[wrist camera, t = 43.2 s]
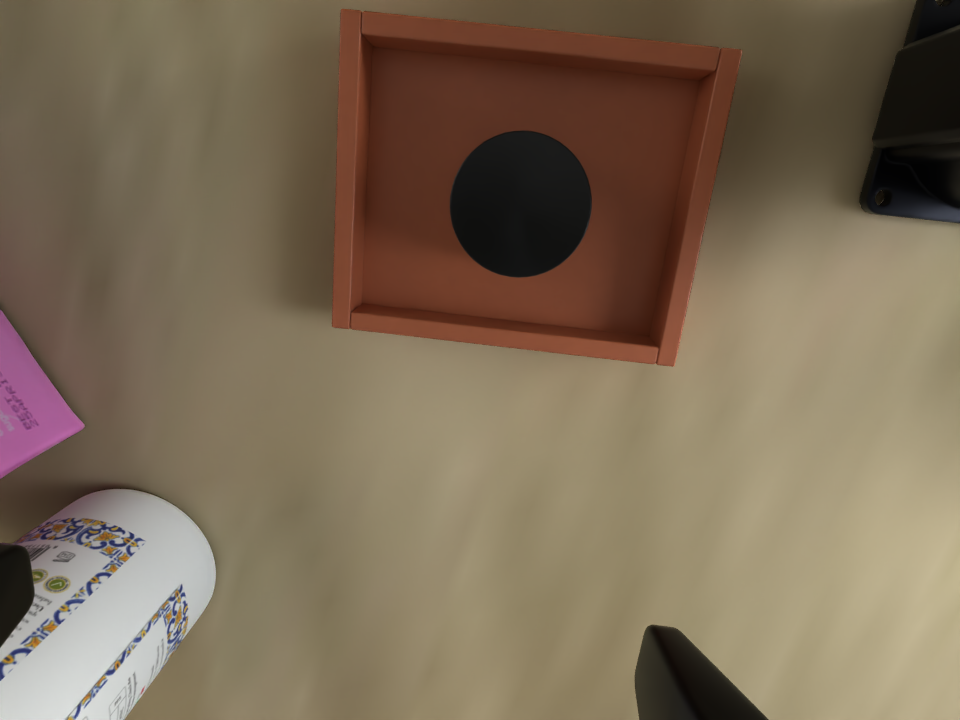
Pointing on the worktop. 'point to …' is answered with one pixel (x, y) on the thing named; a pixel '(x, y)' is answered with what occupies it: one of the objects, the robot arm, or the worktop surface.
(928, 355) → the worktop surface
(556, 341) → the tray
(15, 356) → the gum box
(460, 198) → the cap
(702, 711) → the robot arm
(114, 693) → the bath foam
